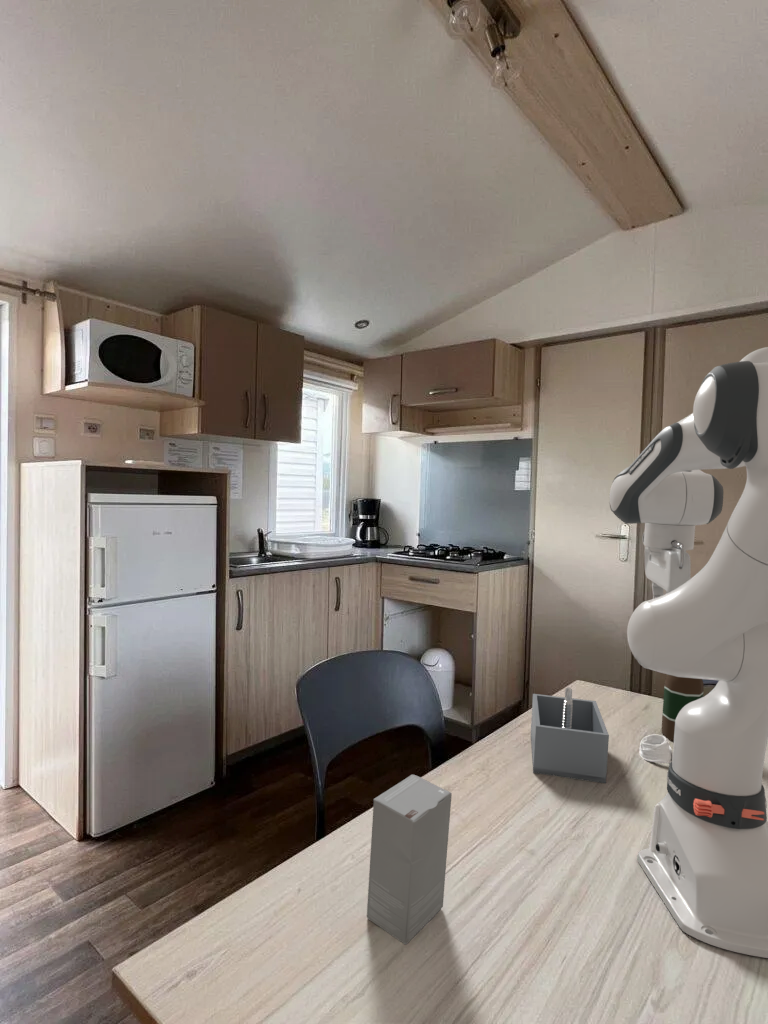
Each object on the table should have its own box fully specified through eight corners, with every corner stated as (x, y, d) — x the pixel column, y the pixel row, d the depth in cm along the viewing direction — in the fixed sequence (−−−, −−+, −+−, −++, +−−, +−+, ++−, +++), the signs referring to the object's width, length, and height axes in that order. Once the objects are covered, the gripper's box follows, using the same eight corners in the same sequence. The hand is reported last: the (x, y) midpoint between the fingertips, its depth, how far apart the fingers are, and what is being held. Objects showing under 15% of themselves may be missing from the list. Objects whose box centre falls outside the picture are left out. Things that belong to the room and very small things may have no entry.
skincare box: (404, 885, 79) (409, 769, 78) (449, 912, 74) (455, 789, 73) (362, 920, 72) (367, 794, 71) (408, 951, 68) (415, 817, 67)
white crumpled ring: (679, 774, 116) (684, 751, 115) (643, 766, 117) (648, 744, 116) (667, 753, 124) (671, 731, 123) (633, 746, 125) (637, 725, 124)
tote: (605, 783, 109) (608, 735, 108) (533, 772, 112) (535, 726, 111) (593, 742, 126) (595, 701, 126) (530, 734, 129) (532, 693, 129)
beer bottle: (653, 732, 133) (660, 627, 132) (677, 728, 136) (684, 625, 135) (683, 747, 126) (691, 636, 125) (708, 742, 129) (716, 633, 128)
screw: (578, 757, 117) (553, 753, 118) (576, 747, 121) (552, 743, 122) (582, 692, 116) (557, 689, 117) (580, 684, 121) (556, 681, 122)
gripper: (702, 544, 104) (697, 622, 105) (672, 535, 124) (668, 601, 125) (664, 542, 106) (659, 619, 106) (640, 533, 126) (636, 598, 126)
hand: (663, 609), depth 116 cm, fingers open, 8 cm apart
